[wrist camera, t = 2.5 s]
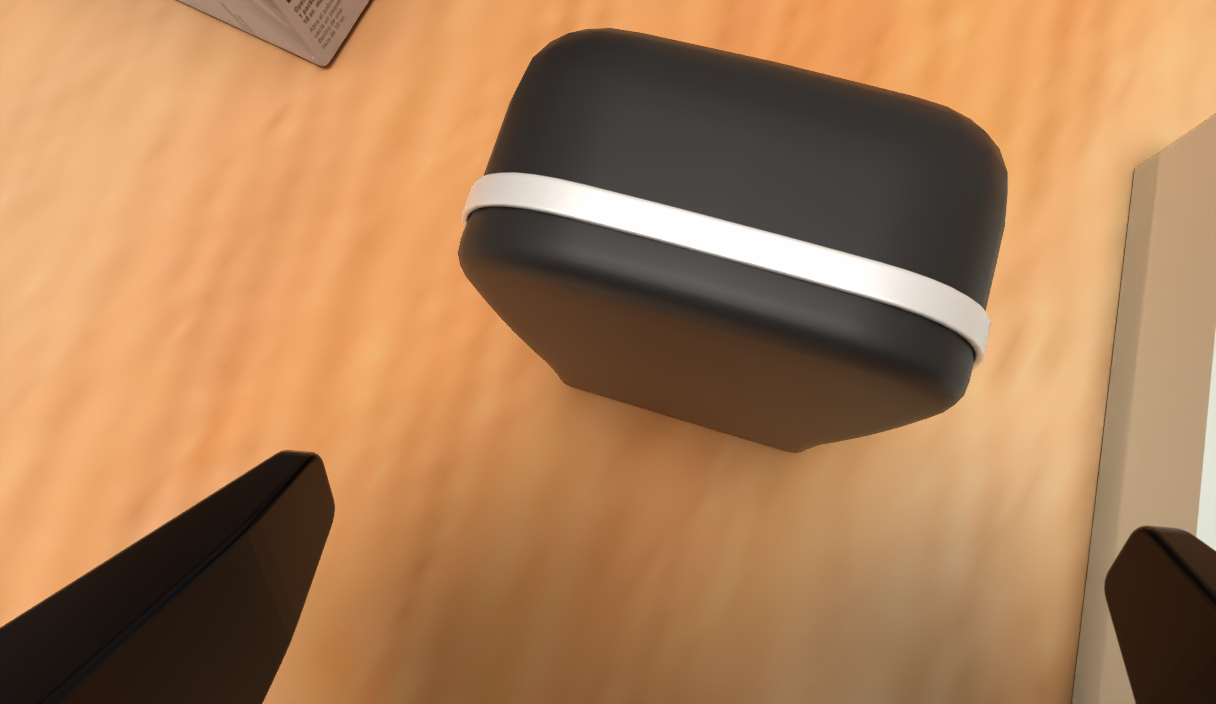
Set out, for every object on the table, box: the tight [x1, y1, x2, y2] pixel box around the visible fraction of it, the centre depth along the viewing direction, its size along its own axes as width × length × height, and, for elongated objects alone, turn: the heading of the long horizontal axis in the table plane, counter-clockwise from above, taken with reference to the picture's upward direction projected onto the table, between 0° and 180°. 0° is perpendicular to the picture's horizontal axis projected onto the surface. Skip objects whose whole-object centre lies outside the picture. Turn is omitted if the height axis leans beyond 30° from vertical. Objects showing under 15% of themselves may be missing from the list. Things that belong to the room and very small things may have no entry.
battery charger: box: [458, 28, 1008, 453], centre depth 14 cm, size 7×4×11 cm, turn 73°
